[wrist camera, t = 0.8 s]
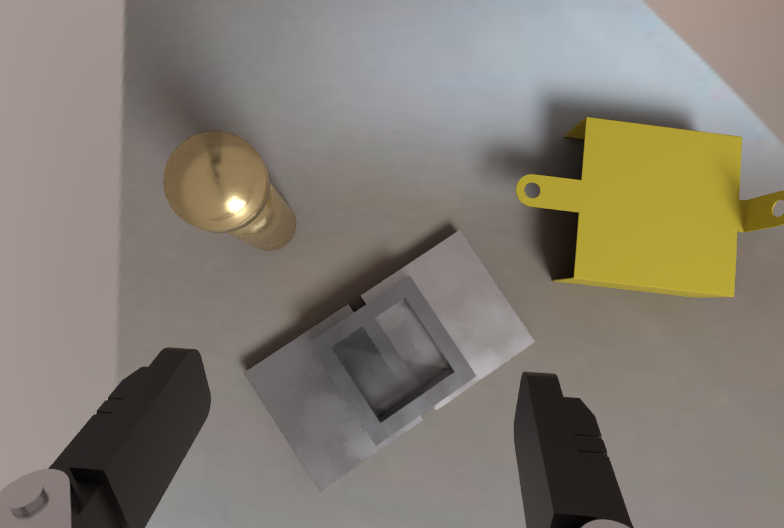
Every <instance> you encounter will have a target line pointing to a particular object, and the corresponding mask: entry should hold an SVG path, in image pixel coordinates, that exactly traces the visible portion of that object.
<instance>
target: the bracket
mask: <svg viewBox="0 0 784 528" xmlns="http://www.w3.org/2000/svg"><path fill="white" fill-rule="evenodd" d="M564 137H571V138H578V139H585V141H584V153H583V166H582V179H581V180H575V179H567V178H559V177H551V176H543V175H535V174H530V175H526V176H524V177H522V178H521V179H520V180H519V182H518V183H517V186H516V194H517V197H518V199H519V200H520V201H521V202H522V203H523V204H524V205H526V206H530V207H538V208H546V209H554V210H563V211H571V212H579V217H578V229H577V242H576V255H575V267H574V277H573V278H565V279H557V280H552V281H557V282H566V283H575V284H583V285H592V286H601V287H609V288H618V289H627V290H635V291H644V292H653V293H661V294H670V295H679V296H688V297H734V287H735V268H736V248H737V232H750V231H755V230H760V229H765V228H771V227H776V226H781V225H783V224H784V214H783V215H782V216H780V217H775V216H774V214H773V207H774V205H775V203H776V202H777V201H779V200H784V191H779V192H775V193H772V194H768V195H764V196H761V197H757V198H753V199H750V200H746V201H745V200H739V188H740V168H741V149H742V137H739V136H731V135H724V134H716V133H708V132H700V131H692V130H685V129H677V128H669V127H661V126H654V125H646V124H638V123H630V122H623V121H615V120H607V119H599V118H591V117H586V118H585V119H583V120H582V121H581V122H580V123H579V124H578V125H576V126H575V127H574V128H573V129H572V130H570V131H569V132H568V133H567V134H566V135H565V136H564ZM528 183H536V184H537V185H538V186H539V188H540V194H539V196H538V197H536V198H529V197H527V196H526V194H525V192H524V189H525V186H526V185H527V184H528Z"/></svg>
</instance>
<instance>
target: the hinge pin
mask: <svg viewBox="0 0 784 528" xmlns="http://www.w3.org/2000/svg"><path fill="white" fill-rule="evenodd" d="M163 183H164V191H165V195H166V198H167V200H168V202H169V204H170V206H171V208H172V209H173V210H174V212H175V213H176V214H177V215H178V216H179V217H180V218H182V219H183V220H184V221H186V222H187V223H189V224H191V225H193V226H195V227H198V228H200V229H202V230H205V231H208V232H213V233H229V234H231V235H233V236H235V237H237V238H239V239H241V240H243V241H245V242H247V243H249V244H251V245H253V246H255V247H257V248H259V249H262V250H267V251H272V250H277V249H280V248H282V247H284V246H285V245H287V244H288V243H289V242H290V241H291V239H292V238H293V236H294V234H295V231H296V218H295V215H294V213H293V211H292V209H291V208H290V207H289V206H288V204H287V203H286V202H285V201H284V199H283V198H282V197H281V196H280V194H279V193H278V192H277V191H276V189H275V188H274V187H273V186H272V184H271V183H270V177H269V173H268V170H267V167H266V165H265V163H264V161H263V160H262V158H261V157H260V156H259V154H258V153H257V152H256V150H255V149H254V148H253V147H252V146H251V145H250V144H249V143H248V142H247V141H245V140H244V139H242V138H240V137H239V136H236V135H234V134H231V133H228V132H222V131H209V132H203V133H200V134H197V135H194V136H192V137H190V138H188V139H187V140H185V141H184V142H182V143H181V144H180V145H179V146H178V147H177V148H176V149H175V151H174V152H173V153H172V155H171V156H170V158H169V160H168V162H167V165H166V168H165V172H164V182H163Z"/></svg>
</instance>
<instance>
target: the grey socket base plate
mask: <svg viewBox="0 0 784 528" xmlns="http://www.w3.org/2000/svg"><path fill="white" fill-rule="evenodd" d="M361 297H362V298H363V300H364V302H365V303H366V305H365V306H363V307H362V308H360V309H359V310H357V311H356V312H353V310H352V309H351V307H350V306H349V304H347V305H346V306H344V307H343V308H341V309H340V310H338V311H336V312H335V313H333V314H332V315H330V316H329V317H327V318H326V319H324V320H323V321H321V322H320V323H318V324H317V325H315V326H314V327H312V328H311V329H309V330H308V331H306V332H305V333H303V334H302V335H300V336H299V337H297V338H296V339H294V340H293V341H291V342H290V343H288V344H287V345H285V346H284V347H282V348H281V349H279V350H278V351H276V352H275V353H273V354H272V355H270V356H268V357H267V358H265V359H264V360H262V361H261V362H259V363H258V364H256V365H255V366H253V367H252V368H250V369H249V370H247V371H246V372H244V374H245V376H246V377H247V379H248V380H249V382H250V383H251V385H252V386H253V388H254V390H255V391H256V393H257V394H258V396H259V397H260V399H261V400H262V402H263V404H264V405H265V407H266V408H267V410H268V411H269V413H270V414H271V416H272V418H273V419H274V421H275V422H276V424H277V425H278V427H279V428H280V430H281V432H282V433H283V435H284V436H285V438H286V439H287V441H288V442H289V444H290V446H291V447H292V449H293V450H294V452H295V453H296V455H297V456H298V458H299V460H300V461H301V463H302V464H303V466H304V467H305V469H306V470H307V472H308V474H309V475H310V477H311V478H312V480H313V481H314V483H315V485H316V486H317V488H318V489H319V491H322V490H323V489H325V488H326V487H327V486H329V485H330V484H332V483H333V482H335V481H336V480H337V479H339V478H340V477H342V476H343V475H345V474H346V473H347V472H349V471H350V470H352V469H353V468H355V467H356V466H358V465H359V464H360V463H362V462H363V461H365V460H366V459H368V458H369V457H370V456H372V455H373V454H375V453H376V452H378V451H379V450H380V449H382V448H383V447H385V446H386V445H388V444H389V443H390V442H392V441H393V440H395V439H396V438H398V437H399V436H401V435H402V434H403V433H405V432H406V431H408V430H409V429H411V428H412V427H413V426H415V425H416V424H418V423H419V422H421V421H422V420H423V417H422V414H423V413H425V412H426V411H427V410H429V409H430V408H432V407H433V406H434V408H435V409H436V410H438V409H439V408H441V407H442V406H444V405H445V404H446V403H448V402H449V401H451V400H452V399H454V398H455V397H456V396H458V395H459V394H461V393H462V392H464V391H465V390H467V389H468V388H469V387H471V386H472V385H474V384H475V383H477V382H478V381H479V380H481V379H482V378H484V377H485V376H487V375H488V374H489V373H491V372H492V371H494V370H495V369H497V368H498V367H499V366H501V365H502V364H504V363H505V362H507V361H508V360H510V359H511V358H512V357H514V356H515V355H517V354H518V353H520V352H521V351H522V350H524V349H525V348H527V347H528V346H530V345H531V344H532V343H534V342H535V341H534V339H533V338H532V336H531V335H530V333H529V332H528V331H527V329H526V328H525V326H524V325H523V323H522V322H521V320H520V319H519V317H518V316H517V314H516V313H515V311H514V310H513V308H512V307H511V305H510V304H509V302H508V301H507V299H506V298H505V296H504V295H503V293H502V292H501V290H500V289H499V287H498V286H497V284H496V283H495V282H494V280H493V279H492V277H491V276H490V274H489V273H488V271H487V270H486V268H485V267H484V265H483V264H482V262H481V261H480V259H479V258H478V256H477V255H476V253H475V252H474V250H473V249H472V247H471V246H470V244H469V243H468V241H467V240H466V238H465V237H464V235H463V234H462V232H461V231H460V230H459V231H457V232H456V233H454V234H453V235H451V236H450V237H448V238H447V239H445V240H444V241H442V242H441V243H439V244H438V245H436V246H435V247H433V248H432V249H430V250H429V251H427V252H426V253H424V254H423V255H421V256H420V257H418V258H417V259H415V260H414V261H412V262H411V263H409V264H408V265H406V266H405V267H403V268H401V269H400V270H398V271H397V272H395V273H394V274H392V275H391V276H389V277H388V278H386V279H385V280H383V281H382V282H380V283H379V284H377V285H376V286H374V287H373V288H371V289H370V290H368V291H367V292H365V293H364V294H362V295H361Z"/></svg>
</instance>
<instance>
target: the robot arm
mask: <svg viewBox="0 0 784 528" xmlns="http://www.w3.org/2000/svg"><path fill="white" fill-rule="evenodd" d="M210 404H211V394H210V390H209V386H208V382H207V378H206V374H205V370H204V366H203V362H202V358H201V355H200V353H199V351H198V350H196V349H184V348H169V347H168V348H164V349H163V350H162V351H161V352H160V353H159V354H158V355H157V357H156V358H155V359H154V360H153V362H152V363H151V364H150V366H149V367H141V368H139V369H138V370H137V371H135V372H134V373H132V374H131V375H129V376H128V377H127V378H125V379H124V380H122V381H121V383H120V384H119V385H118V386H117V387H116V389H115V390H114V391H113V392H112V393H111V394H110V396H109V397H108V401H105V402H104V403H103V404H102V405H101V406H100V408H99V409H98V410H97V414H96V415H93V416H92V417H91V418H90V420H89V421H88V422H87V423H86V424H85V426H84V427H83V428H82V429H81V430H80V432H79V433H78V434H77V435H76V436H75V438H74V439H73V440H72V441H71V442H70V444H69V445H68V446H67V447H66V448H65V449H64V451H63V452H62V453H61V454H60V456H59V457H58V458H57V459H56V460H55V461H54V463H53V464H52V465H51V466H50V467H49V468H48V469H44V470H39V471H35V472H32V473H29V474H27V475H25V476H22V477H20V478H19V479H17V480H15V481H14V482H12V483H11V484H9V485H8V486H6V487H5V488H4V489H2V490H1V491H0V528H145V526H146V525H147V523H148V521H149V519H150V518H151V516H152V514H153V512H154V511H155V509H156V507H157V505H158V503H159V502H160V500H161V498H162V496H163V495H164V493H165V491H166V489H167V488H168V486H169V484H170V482H171V481H172V479H173V477H174V475H175V473H176V472H177V470H178V468H179V466H180V465H181V463H182V461H183V459H184V458H185V456H186V454H187V452H188V450H189V449H190V447H191V445H192V443H193V442H194V440H195V438H196V436H197V435H198V433H199V431H200V429H201V427H202V426H203V424H204V422H205V420H206V418H207V416H208V413H209V410H210ZM601 437H602V436H601V433H600V430H599V427H598V424H597V421H596V418H595V416H594V414H593V413H592V412H591V411H590V410H589V409H588V407H587V406H586V405H585V404H584V403H583V402H582V400H581V399H580V398H571V397H563V394H562V391H561V387H560V384H559V380H558V377H557V375H556V374H551V373H535V372H523V374H522V377H521V382H520V388H519V394H518V400H517V406H516V412H515V419H514V443H515V450H516V457H517V464H518V471H519V478H520V485H521V492H522V499H523V506H524V513H525V520H526V527H527V528H634V527H633V525H632V523H631V521H630V518H629V515H628V512H627V509H626V506H625V503H624V500H623V497H622V494H621V491H620V488H619V486H618V483H617V480H616V477H615V474H614V471H613V468H612V465H611V462H610V459H609V457H607V450H606V447H605V444H604V441H603V440H602V438H601Z"/></svg>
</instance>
